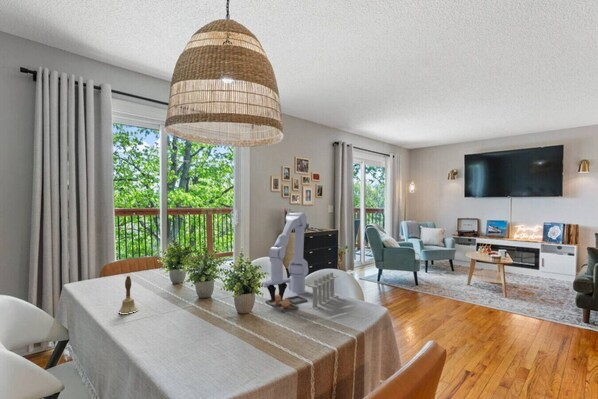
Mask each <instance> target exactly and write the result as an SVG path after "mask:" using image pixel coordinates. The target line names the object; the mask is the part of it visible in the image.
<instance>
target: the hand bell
mask: <svg viewBox="0 0 598 399" xmlns="http://www.w3.org/2000/svg"><path fill="white" fill-rule="evenodd" d="M124 287H125V290H126V292H125V294H126V295H125V298H124V299H123V300H122V304H121V307H120V309H119V310H118V311H119V312H121V313H129V312H133V311H136V310H137V309H139V308H138V307H137V306H136V304H135V300H134V298H133V297H131V288H132V279H131V276H130V275H126V278H125V281H124Z"/></svg>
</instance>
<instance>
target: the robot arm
mask: <svg viewBox="0 0 598 399" xmlns="http://www.w3.org/2000/svg"><path fill="white" fill-rule="evenodd" d="M307 221H308V220H307V215H306V213H305V212H289V211H288V212H287V214H286V215H285V222H286V223H285V225H284V228H283V231H282V233H281V234H280V233H279V235H278V237H277V239H276V241H275V243H274V245H273V246H272V247H270V248H269V249H268V257H269V262H270V279H269V280H266V281H264V282H262V287H263V288H267V290H268V293H269V295H270V300H272V301H275V295H276V290H277V287H278V294H279V295H280V296H281V299H283V300H284V293H285V291H286V289H287V287H288V289H287V292H289V293H292V294H295V296H297V295H301V294H306V293H307V294H308V293H309V291H308V290H306V277H307V275H309V264H308V261H307V260H306V259H305V258H304V247H305V246H304V244H305V243H304V242H305V228H307ZM293 229H294V232H295V233H294V246H293V248H294V249H293V250H294V251H293V254H294V255H293V258H292V259H291V260H290V261H289V265H288V273H289V275H290V276H289V277H287V278H285V277H283V276H284V263H283V262H284V261H283V260H284V258H285V256H286V251H287V249H286V248H287V246H288V244H289V241H290V238H289V236H290V235H291V233H292V231H293ZM263 284H264V286H263ZM276 285H277V287H276Z"/></svg>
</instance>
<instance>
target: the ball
mask: <svg viewBox="0 0 598 399" xmlns="http://www.w3.org/2000/svg"><path fill="white" fill-rule="evenodd" d="M281 305H282V307H283V308H288V307H289V306H290V302H289V300H287V299H285V298H283V301H282V302H281Z"/></svg>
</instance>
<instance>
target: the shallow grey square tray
mask: <svg viewBox="0 0 598 399" xmlns="http://www.w3.org/2000/svg"><path fill="white" fill-rule="evenodd" d="M284 299H287V300H289V302H290V303H291V304H293V305H297V304H301V303H302V304H303V303H307V302H308V298H305V297H304V296H300V294H298V295H292V296H289V297H285V298H284Z"/></svg>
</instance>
